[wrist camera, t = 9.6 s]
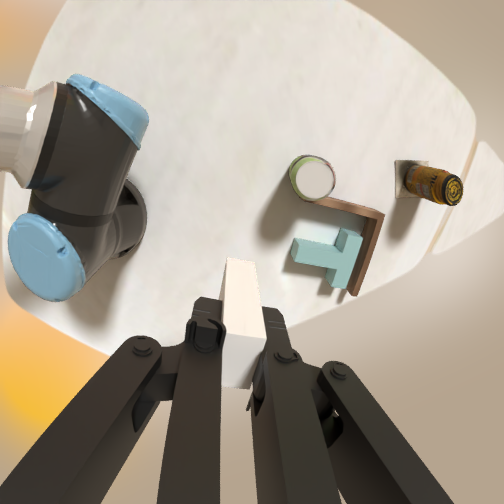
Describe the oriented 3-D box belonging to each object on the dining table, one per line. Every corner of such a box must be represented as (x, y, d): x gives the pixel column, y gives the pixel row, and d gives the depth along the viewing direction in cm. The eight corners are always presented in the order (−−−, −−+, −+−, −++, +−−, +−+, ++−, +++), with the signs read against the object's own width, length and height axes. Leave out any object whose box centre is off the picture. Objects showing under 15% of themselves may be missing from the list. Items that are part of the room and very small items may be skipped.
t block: (285, 270, 51) (289, 280, 47) (299, 218, 48) (304, 225, 44) (338, 279, 52) (345, 288, 49) (354, 231, 49) (363, 238, 45)
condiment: (427, 196, 47) (465, 210, 36) (395, 197, 47) (432, 213, 36) (427, 160, 44) (467, 168, 33) (394, 160, 44) (433, 166, 33)
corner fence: (278, 276, 51) (281, 286, 48) (300, 190, 46) (306, 193, 42) (349, 286, 53) (356, 296, 49) (374, 209, 48) (385, 214, 44)
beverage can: (324, 186, 46) (352, 199, 34) (283, 194, 46) (299, 209, 35) (318, 150, 43) (345, 152, 32) (276, 157, 44) (290, 160, 32)
